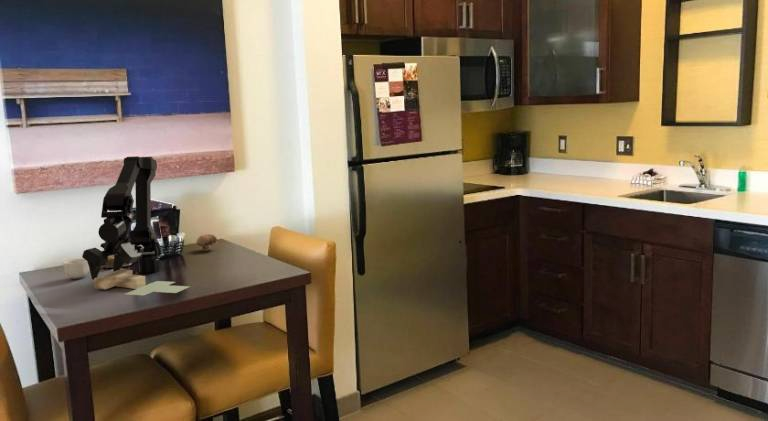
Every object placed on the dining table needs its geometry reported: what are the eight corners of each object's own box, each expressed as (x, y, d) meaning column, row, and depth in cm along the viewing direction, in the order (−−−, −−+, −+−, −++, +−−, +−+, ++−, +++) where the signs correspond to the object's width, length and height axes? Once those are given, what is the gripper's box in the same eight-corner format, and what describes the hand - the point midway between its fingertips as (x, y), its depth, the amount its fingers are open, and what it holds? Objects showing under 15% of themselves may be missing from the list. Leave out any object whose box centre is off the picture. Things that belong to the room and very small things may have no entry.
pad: (123, 294, 181) (123, 294, 181) (156, 281, 195) (156, 280, 195) (167, 297, 177) (167, 296, 177) (197, 283, 191) (197, 283, 191)
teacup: (65, 281, 200) (63, 264, 199) (64, 276, 207) (62, 260, 206) (98, 276, 205) (97, 260, 204) (97, 271, 211) (95, 256, 211)
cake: (104, 271, 213) (102, 255, 212) (99, 265, 221) (98, 251, 220) (134, 266, 218) (133, 251, 217) (129, 261, 227) (127, 247, 226)
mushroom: (193, 252, 237) (192, 236, 236) (202, 248, 245) (201, 232, 244) (213, 252, 236) (211, 236, 235) (221, 248, 243) (220, 232, 242)
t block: (94, 288, 186) (94, 278, 186) (122, 277, 197) (121, 268, 197) (127, 292, 183) (127, 282, 182) (154, 282, 194) (153, 272, 193)
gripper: (118, 248, 178) (103, 295, 181) (159, 238, 195) (144, 281, 199) (88, 231, 180) (74, 278, 183) (131, 223, 198) (117, 265, 201)
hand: (104, 276), depth 192 cm, fingers open, 9 cm apart
